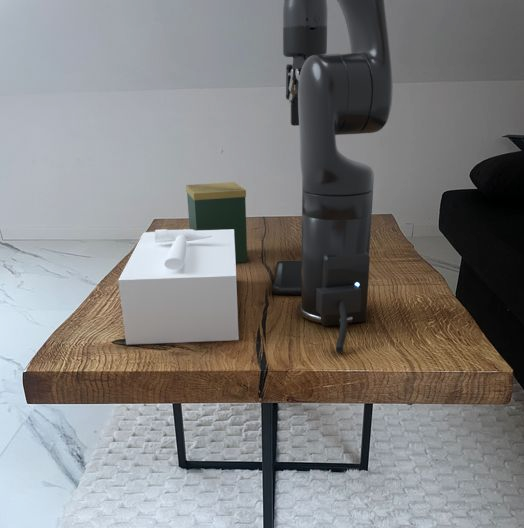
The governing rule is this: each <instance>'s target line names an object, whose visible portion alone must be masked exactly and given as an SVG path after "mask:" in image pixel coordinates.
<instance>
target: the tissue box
mask: <svg viewBox="0 0 524 528" xmlns="http://www.w3.org/2000/svg"><path fill="white" fill-rule="evenodd" d="M236 264H237V263H236V262H235V240H234V229H228V230H197V231H195V230H193V229H190V228H187V229H164V228H163V229H155V230H154V231H144V232H143V233H142V235H141V237H140V238H139V241H138V243H137V244H136V246H135V248H134V250H133V252H132V253H131V255H130V257H129V259H128V261H127V262H126V264H125V266H124V268H123V270H122V272H121V274H120V276H119V278H118V280H117V282H118V283H117V284H118V291H119V298H120V307H121V314H122V323H123V331H124V338H125V345H126V346H128V345H149V344H150V345H151V344H152V345H153V344H174V343H175V344H176V343H178V344H179V343H200V342H201V343H202V342H223V341H225V342H227V341H239V340H240V337H239V335H240V334H239V314H238V313H239V312H238V289H237V287H238V286H237V265H236Z"/></svg>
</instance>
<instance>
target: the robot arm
mask: <svg viewBox="0 0 524 528" xmlns="http://www.w3.org/2000/svg"><path fill="white" fill-rule="evenodd" d="M336 2H338V4H339V5H338V6H339V7H340V10H341V11H342V15H343V17H344V20H345V24H346V27H347V28H346V29H347V34H348V38H349V39H348V40H349V45H350V52H349V53H347V52H346V53H345V52H344V53H337V52H336V53H328V1H327V0H283V7H282V54H283V56H284V57H285V58H292V59H293V60H292V63H289V64H288V63H287V64H286V65H285V69H286V70H285V73H286V74H285V100H287V101H288V103H289V104H290V125H292V126H293V127H294V126H298V129H299V163H300V164H299V165H300V172H301V173H300V174H301V190H302V191H301V259H300V261H301V296H300V315H301V316H302V317H303V318H305V319H306V320H308V321H310V322H314V323H318V324H320V325H322V326H323V327H330V326H332V327H333V326H339V330H338V331H339V332H338V336H337V340H336V345H335V351H336V352H337V354H341V353H343V352H344V345H345V341H346V336H347V332H348V324H356V323H364V322H367V315H368V299H369V298H368V297H369V280H370V261H371V260H370V259H371V257H370V253H371V252H370V250H371V232H372V215H373V200H374V199H373V197H374V180H375V177H374V176H375V175H374V170H373V168H372V167H371V166H369V165H368V164H365V163H362V162H359V161H355V160H352V159H350V158H348V157H346V156H345V155H343V154H342V153H341V152H340V150H339V149H338V147H337V137H336V136H343V135H361V134H374V133H377V132H379V131H381V130H382V129H383V128H384V127H385V126H386V124H387V122H388V120H389V118H390V115H391V110H392V107H393V106H392V105H393V95H394V93H393V92H394V87H393V86H394V80H393V79H394V78H393V68H392V56H391V49H390V48H391V46H390V38H389V28H388V19H387V18H388V17H387V9H386V0H336Z"/></svg>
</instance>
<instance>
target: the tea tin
mask: <svg viewBox="0 0 524 528" xmlns="http://www.w3.org/2000/svg"><path fill="white" fill-rule="evenodd" d="M185 192H186V198H187V210H188V211H187V212H188V224H189V225H188V226H189V229H193V230H195V231H197V230H228V229H234V240H235V262H236V264H241V263H248V240H247V239H248V238H247V236H248V235H247V207H246V206H247V205H246V204H247V203H246V197H247V189H245V188H244V187H242V186H241V185H239V184H238V183H237V182H235V181H231V182H215V183H214V182H213V183H199V184H197V183H196V184H186V185H185Z"/></svg>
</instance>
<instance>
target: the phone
mask: <svg viewBox="0 0 524 528" xmlns="http://www.w3.org/2000/svg"><path fill="white" fill-rule="evenodd" d="M275 266H276V267H275V271H274V276H273V282H272V294H274V295H281V296H282V295H283V296H284V295H287V296H288V295H290V296H291V295H294V296H295V295H296V296H298V295H299V296H300V295H301V260H278V261H277V262H276V265H275Z"/></svg>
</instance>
